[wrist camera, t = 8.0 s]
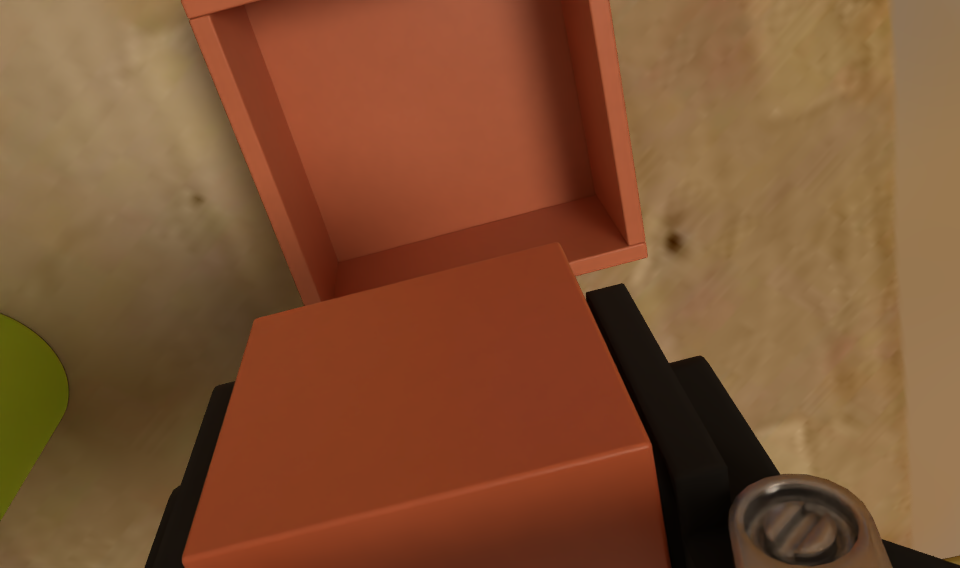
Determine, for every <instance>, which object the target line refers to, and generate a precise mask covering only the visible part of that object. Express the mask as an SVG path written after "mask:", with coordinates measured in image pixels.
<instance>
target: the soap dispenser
mask: <svg viewBox="0 0 960 568" xmlns="http://www.w3.org/2000/svg"><path fill="white" fill-rule="evenodd" d="M68 398H69V387H68V381H67V377H66V373H65V371H64V368H63V366H62V364H61V362H60V360H59V359H58V357H57V356H56V354H55V353H54V351H53V350H52V349H51V348H50V347H49V345H48V344H47V343H46V342H45V341H44V340H43V339H42V338H40V337H39V336H38V335H37V334H36V333H34V332H33V331H32V330H30V329H29V328H27V327H26V326H24V325H23V324H21V323H19V322H17V321H16V320H14V319H12V318H9V317H7V316H5V315H2V314H0V521H1V519H2V517H3V516H4V514H5V512H6V511H7V509H8V507H9V506H10V504H11V502H12V501H13V499H14V497H15V496H16V494H17V492H18V491H19V489H20V487H21V486H22V484H23V482H24V481H25V479H26V477H27V476H28V474H29V472H30V471H31V469H32V467H33V466H34V464H35V462H36V461H37V459H38V457H39V456H40V454H41V452H42V451H43V449H44V447H45V446H46V444H47V442H48V441H49V439H50V437H51V436H52V434H53V432H54V431H55V429H56V427H57V426H58V424H59V422H60V421H61V419H62V417H63V415H64V413H65V411H66V408H67V404H68Z"/></svg>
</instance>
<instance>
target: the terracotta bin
mask: <svg viewBox="0 0 960 568" xmlns="http://www.w3.org/2000/svg"><path fill="white" fill-rule="evenodd" d="M181 3H182V5H183V7H184V10H185V12H186V15H187V17H188V18H189V19H190V20H189V23H190V25H191V27H192V30H193V32H194V35H195V37H196V40H197V42H198V45H199V47H200V50H201V52H202V55H203V57H204V60H205V62H206V64H207V67H208V69H209V72H210V74H211V77H212V79H213V82H214V84H215V87H216V89H217V92H218V94H219V97H220V99H221V101H222V104H223V106H224V109H225V111H226V114H227V116H228V119H229V121H230V124H231V126H232V129H233V131H234V134H235V136H236V138H237V141H238V143H239V146H240V148H241V151H242V153H243V156H244V158H245V161H246V163H247V166H248V168H249V171H250V173H251V175H252V178H253V180H254V183H255V185H256V188H257V190H258V193H259V195H260V198H261V200H262V203H263V205H264V208H265V210H266V212H267V215H268V217H269V220H270V222H271V225H272V227H273V230H274V232H275V235H276V237H277V240H278V242H279V245H280V247H281V249H282V252H283V254H284V257H285V259H286V262H287V264H288V267H289V269H290V272H291V274H292V277H293V279H294V282H295V284H296V286H297V289H298V291H299V294H300V296H301V299H302V301H303V304H304V306H307V305H311V304H315V303H319V302H323V301H327V300H331V299H335V298H338V297H342V296H346V295H350V294H354V293H358V292H362V291H366V290H370V289H374V288H378V287H382V286H386V285H390V284H394V283H398V282H401V281H405V280H409V279H413V278H417V277H421V276H425V275H429V274H433V273H437V272H441V271H445V270H449V269H453V268H457V267H461V266H464V265H468V264H472V263H476V262H480V261H484V260H488V259H492V258H496V257H500V256H504V255H508V254H512V253H516V252H520V251H524V250H527V249H531V248H535V247H539V246H543V245H547V244H551V243H555V242H558V243H559V244H560V245H561V247H562V249H563V251H564V253H565V256H566V258H567V260H568V262H569V264H570V267H571V269H572V271H573V273H574V275H575V276H578V275H582V274H586V273H590V272H594V271H597V270H601V269H605V268H609V267H613V266H617V265H620V264H624V263H628V262H632V261H636V260H640V259H643V258H647V256H648V254H647V247H646V243H645V234H644V227H643V221H642V214H641V208H640V201H639V194H638V188H637V181H636V175H635V168H634V161H633V155H632V148H631V141H630V135H629V128H628V122H627V115H626V108H625V102H624V95H623V89H622V82H621V75H620V69H619V62H618V55H617V49H616V42H615V36H614V29H613V22H612V16H611V9H610V3H609V0H181Z"/></svg>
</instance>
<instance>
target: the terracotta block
mask: <svg viewBox="0 0 960 568" xmlns="http://www.w3.org/2000/svg"><path fill="white" fill-rule="evenodd" d="M182 564H183V566H184V567H185V568H672V567H671V561H670V555H669V549H668V542H667V536H666V530H665V524H664V517H663V511H662V505H661V499H660V492H659V486H658V480H657V474H656V467H655V461H654V455H653V449H652V444H651V441H650V439H649V437H648V435H647V433H646V431H645V428H644V426H643V424H642V422H641V420H640V417H639V415H638V413H637V411H636V409H635V406H634V404H633V402H632V400H631V398H630V396H629V393H628V391H627V389H626V387H625V385H624V382H623V380H622V378H621V376H620V374H619V372H618V369H617V367H616V365H615V363H614V361H613V358H612V356H611V354H610V352H609V350H608V347H607V345H606V343H605V341H604V339H603V337H602V334H601V332H600V330H599V328H598V326H597V323H596V321H595V319H594V317H593V315H592V312H591V310H590V308H589V306H588V304H587V302H586V299H585V297H584V295H583V293H582V291H581V288H580V286H579V284H578V282H577V280H576V278H575V275H574V273H573V271H572V269H571V267H570V264H569V262H568V260H567V258H566V256H565V253H564V251H563V249H562V247H561V245H560V244H559V243H558V242H555V243H551V244H547V245H543V246H539V247H535V248H531V249H527V250H524V251H520V252H516V253H512V254H508V255H504V256H500V257H496V258H492V259H488V260H484V261H480V262H476V263H472V264H468V265H464V266H461V267H457V268H453V269H449V270H445V271H441V272H437V273H433V274H429V275H425V276H421V277H417V278H413V279H409V280H405V281H401V282H398V283H394V284H390V285H386V286H382V287H378V288H374V289H370V290H366V291H362V292H358V293H354V294H350V295H346V296H342V297H338V298H335V299H331V300H327V301H323V302H319V303H315V304H311V305H307V306H303V307H299V308H295V309H291V310H287V311H283V312H279V313H275V314H272V315H268V316H264V317H260V318H257V319H255V320H254V322H253V325H252V328H251V332H250V335H249V338H248V342H247V345H246V348H245V351H244V355H243V358H242V361H241V365H240V368H239V371H238V374H237V378H236V381H235V384H234V388H233V391H232V394H231V397H230V401H229V404H228V407H227V411H226V414H225V417H224V420H223V424H222V427H221V430H220V434H219V437H218V440H217V443H216V447H215V450H214V453H213V457H212V460H211V463H210V466H209V470H208V473H207V476H206V480H205V483H204V486H203V490H202V493H201V496H200V499H199V503H198V506H197V509H196V513H195V516H194V519H193V522H192V526H191V529H190V532H189V536H188V539H187V542H186V545H185V549H184V552H183V555H182Z"/></svg>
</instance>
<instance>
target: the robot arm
mask: <svg viewBox="0 0 960 568" xmlns="http://www.w3.org/2000/svg"><path fill="white" fill-rule="evenodd" d="M586 301H587V304H588V306H589V308H590V310H591V312H592V315H593V317H594V319H595V321H596V323H597V326H598V328H599V330H600V332H601V334H602V337H603V339H604V341H605V343H606V345H607V347H608V350H609V352H610V354H611V356H612V358H613V361H614V363H615V365H616V367H617V369H618V372H619V374H620V376H621V378H622V380H623V382H624V385H625V387H626V389H627V391H628V393H629V396H630V398H631V400H632V402H633V404H634V406H635V409H636V411H637V413H638V415H639V417H640V420H641V422H642V424H643V426H644V428H645V431H646V433H647V435H648V437H649V439H650V441H651V444H652V449H653V455H654V461H655V467H656V474H657V480H658V486H659V492H660V499H661V505H662V511H663V517H664V524H665V530H666V536H667V542H668V549H669V555H670V561H671V567H672V568H960V565H958V564H955V563H952V562H949V561H946V560H943V559H940V558H937V557H934V556H931V555H927V554H925V553H922V552H919V551H916V550H913V549H910V548H907V547H904V546H901V545H898V544H895V543H892V542H889V541H886V540H883V539H881V537H880V535H879V532H878V530H877V527H876V525H875V522H874V520H873V517H872V516H871V514H870V513H869V511H868V509H867V508H866V506H865V505H864V503H863V502H862V501H861V500H860V499H858V498H857V497H856V496H855V495H854V494H853V493H851V492H850V491H849V490H848V489H846V488H844V487H842V486H840V485H838V484H836V483H834V482H832V481H830V480H827V479H823V478H819V477H815V476H811V475H806V474H782V475H780V473H779V472H778V470H777V469H776V467H775V465H774V464H773V462H772V461H771V459H770V458H769V456H768V455H767V453H766V452H765V450H764V448H763V447H762V445H761V444H760V442H759V441H758V439H757V438H756V436H755V435H754V433H753V431H752V430H751V428H750V427H749V425H748V424H747V422H746V421H745V419H744V417H743V416H742V414H741V413H740V411H739V410H738V408H737V407H736V405H735V404H734V402H733V400H732V399H731V397H730V396H729V394H728V393H727V391H726V390H725V388H724V387H723V385H722V383H721V382H720V380H719V379H718V377H717V376H716V374H715V373H714V371H713V370H712V368H711V366H710V365H709V363H708V362H707V361H706V360H705V358H704V357H702V356H696V357H692V358H688V359H684V360H680V361H676V362H672V363H668V361H667V359H666V357H665V356H664V354H663V352H662V350H661V348H660V347H659V345H658V343H657V341H656V340H655V338H654V336H653V334H652V333H651V331H650V329H649V327H648V325H647V324H646V322H645V320H644V318H643V317H642V315H641V313H640V311H639V310H638V308H637V306H636V304H635V302H634V301H633V299H632V297H631V295H630V294H629V292H628V290H627V288H626V287H625V285H624V284H622V283H621V284H617V285H614V286H610V287H606V288H602V289H598V290H594V291H590V292H586ZM234 384H235V381H233V382H230V383H226V384H222V385H218V386H216V387H215V388H214V390H213V392H212V395H211V398H210V401H209V404H208V407H207V410H206V412H205V415H204V418H203V421H202V424H201V427H200V430H199V433H198V436H197V439H196V442H195V445H194V448H193V450H192V453H191V456H190V459H189V462H188V465H187V468H186V471H185V474H184V477H183V480H182V483H181V486H178V487H177V488H176V489H174V490H173V492H172V494H171V496H170V497H169V500H168V503H167V505H166V508H165V511H164V514H163V517H162V520H161V522H160V525H159V528H158V531H157V534H156V537H155V539H154V542H153V545H152V548H151V551H150V554H149V556H148V559H147V562H146V565H145V568H185V567H184V566H183V564H182V555H183V552H184V549H185V545H186V542H187V539H188V536H189V532H190V529H191V526H192V522H193V519H194V516H195V513H196V509H197V506H198V503H199V499H200V496H201V493H202V490H203V486H204V483H205V480H206V476H207V473H208V470H209V466H210V463H211V460H212V457H213V453H214V450H215V447H216V443H217V440H218V437H219V434H220V430H221V427H222V424H223V420H224V417H225V414H226V411H227V407H228V404H229V401H230V397H231V394H232V391H233V388H234Z"/></svg>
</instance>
